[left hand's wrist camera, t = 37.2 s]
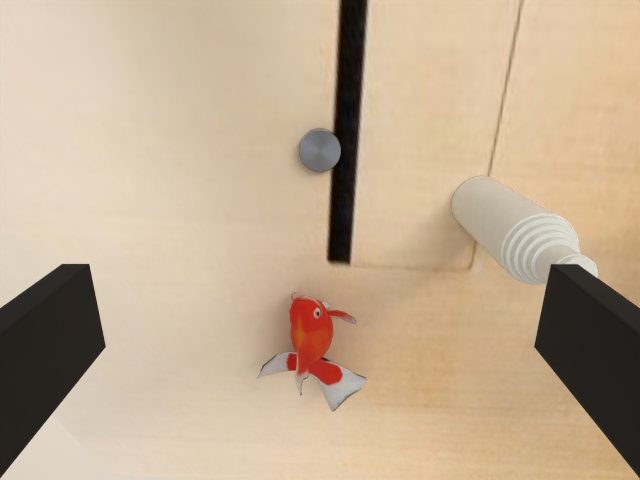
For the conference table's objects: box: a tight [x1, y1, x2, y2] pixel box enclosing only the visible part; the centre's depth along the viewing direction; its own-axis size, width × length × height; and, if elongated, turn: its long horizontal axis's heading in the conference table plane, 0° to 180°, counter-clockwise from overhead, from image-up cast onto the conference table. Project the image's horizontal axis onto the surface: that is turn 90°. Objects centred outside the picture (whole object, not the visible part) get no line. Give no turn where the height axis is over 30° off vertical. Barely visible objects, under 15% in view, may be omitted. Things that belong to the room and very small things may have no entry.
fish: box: [258, 292, 367, 412], centre depth 45 cm, size 11×16×10 cm
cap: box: [299, 128, 341, 172], centre depth 41 cm, size 4×4×2 cm
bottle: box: [451, 176, 598, 285], centre depth 36 cm, size 6×6×18 cm
